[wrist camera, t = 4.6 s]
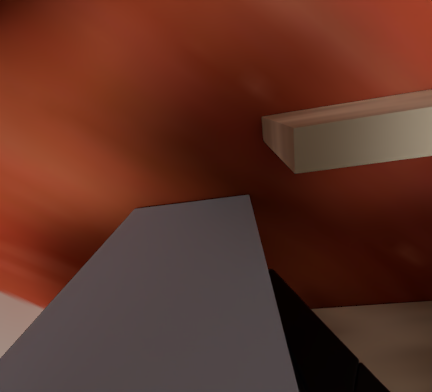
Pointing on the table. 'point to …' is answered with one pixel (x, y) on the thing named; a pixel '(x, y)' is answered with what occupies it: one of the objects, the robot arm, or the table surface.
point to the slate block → (162, 311)
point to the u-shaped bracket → (353, 156)
